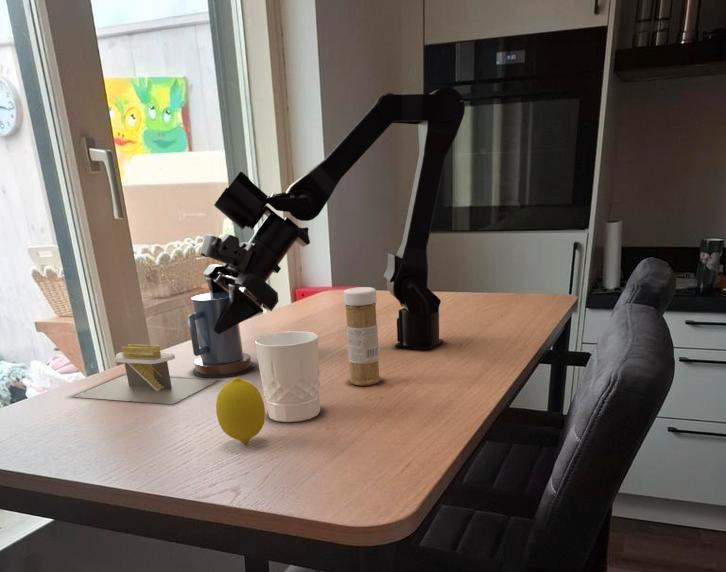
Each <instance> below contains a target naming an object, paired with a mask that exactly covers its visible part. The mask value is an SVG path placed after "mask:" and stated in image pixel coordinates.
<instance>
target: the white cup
mask: <svg viewBox="0 0 726 572" xmlns="http://www.w3.org/2000/svg"><path fill="white" fill-rule="evenodd" d="M254 344H255V350H256V351H255V352H256V356H257V363H258V369H259V374H260V378H261V379H260V380H261V386H262V389H263V395H264V398H265V402H266V408H267V409H266V410H267V414H268V416H269V419H270V420H273V421H274V422H275V421H276V422H282V423H294V422H295V423H296V422H303V421H306V420H310V419H313V418H315V417H317V416H318V415H319V413H320V412H321V399H320V389H321V382H320V377H321V376H320V375H321V373H320V350H319V335H318V334H317V333H316V332H311V331H304V330H303V331H302V330H293V331H292V330H291V331H279V332H274V333H268V334H265V335H261V336H259V337H257V338H256V339H255V340H254Z"/></svg>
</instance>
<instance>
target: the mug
mask: <svg viewBox="0 0 726 572" xmlns="http://www.w3.org/2000/svg"><path fill="white" fill-rule="evenodd" d="M229 298H230V296H229V293H210V294H209V293H203V294H198V295H195V296H193V297H191V302H192V303H191V305H192V309H193V310H192V311H193V313H191V314H188V316H187V320H188V321H187V322H188V327H189V333H190V340H191V347H192V353H193V356H195V357H198V358H196V359H195V360H194V367H195V368H196V372H197V373H199V374H203V375H226V374H232V373H237V372H241V371H244V370H246V369H248V368H250V367H251V362H252V360H251V359H252V358H251V355H250V354H249V353H246V352H244V350H243V341H242V335H241V328H240V327H241V325H240V323H239V324H237V325H235V326H233V327H231V328H230V329H228V330H226V331H224V332H222V333H221V334H217V333H216V332H215V331H214V327H215V325H216V323H217V321H218V319H219V317H220V315H221V314H222V312H223V310H224V308H225V306H226V305H227V303H228V301H229ZM199 356H200V357H199ZM195 368H194V369H195Z"/></svg>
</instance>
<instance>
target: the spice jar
mask: <svg viewBox="0 0 726 572" xmlns="http://www.w3.org/2000/svg"><path fill="white" fill-rule="evenodd" d="M376 302H377V290H376V288H374V287H370V286H360V287H351V288H347V289H345V290H344V291H343V304H344V307H345V317H346V337H347V338H346V340H347V352H348V353H347V354H348V362H349V374H350V376H349V382H350V384H352V385H355V386H372V385H373V386H374V385H376V384H378V383H379V382H380V381H381V377H380V366H379V365H380V364H379V360H380V353H379V336H378V335H379V331H378V321H377V308H376V306H377V303H376Z"/></svg>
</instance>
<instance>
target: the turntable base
mask: <svg viewBox="0 0 726 572" xmlns="http://www.w3.org/2000/svg"><path fill="white" fill-rule="evenodd" d="M255 367H256V366H255V363H254V362H252V361H251V367H250V368H248V369H246V370H244V371H241V372H237V373H232V374H226V375H203V374H199V373H197V372H196V368H193V370H192V374H193V375H194V376H195V377H198V378H203V379H224V378H231V377H237V376H241V375H244V374H247V373H249V372H251V371H253V370H254V369H255Z"/></svg>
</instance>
